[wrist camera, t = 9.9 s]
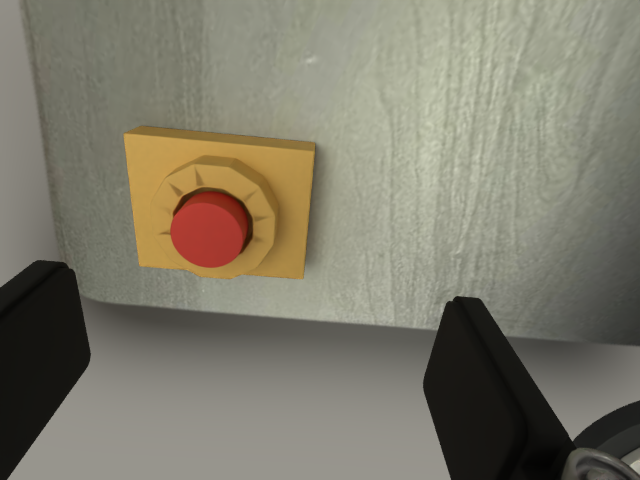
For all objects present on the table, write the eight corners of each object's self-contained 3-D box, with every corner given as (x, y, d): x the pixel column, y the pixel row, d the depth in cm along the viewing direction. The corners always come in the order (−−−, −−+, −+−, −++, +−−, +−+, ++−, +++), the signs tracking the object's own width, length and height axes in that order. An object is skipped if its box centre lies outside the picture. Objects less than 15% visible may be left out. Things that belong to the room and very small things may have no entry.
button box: (315, 142, 23) (314, 159, 19) (304, 262, 26) (302, 296, 23) (140, 125, 22) (105, 140, 19) (152, 250, 26) (125, 282, 22)
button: (249, 193, 20) (243, 206, 19) (248, 255, 22) (242, 271, 20) (178, 187, 20) (167, 199, 19) (182, 249, 22) (172, 265, 20)
